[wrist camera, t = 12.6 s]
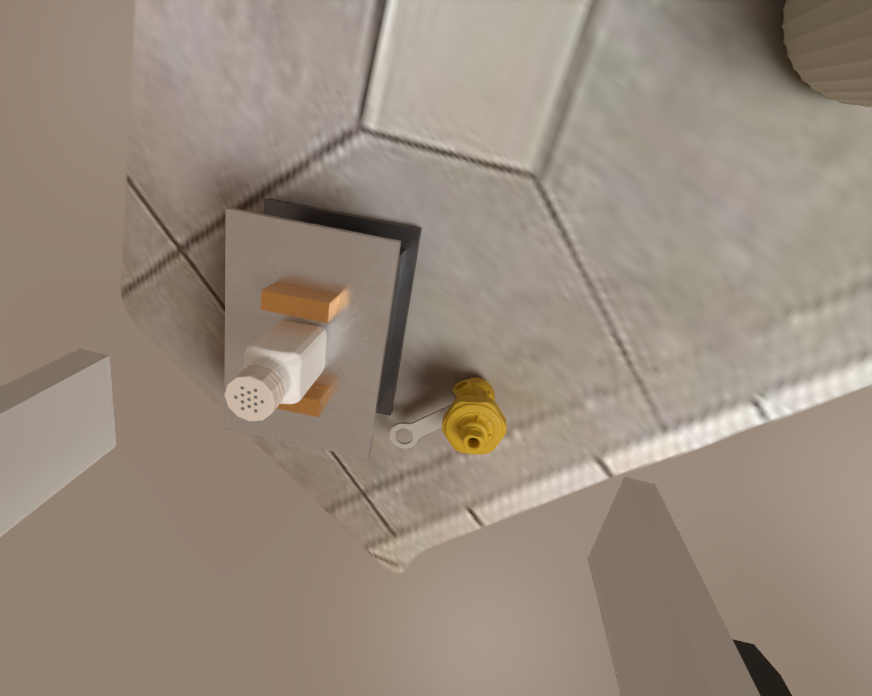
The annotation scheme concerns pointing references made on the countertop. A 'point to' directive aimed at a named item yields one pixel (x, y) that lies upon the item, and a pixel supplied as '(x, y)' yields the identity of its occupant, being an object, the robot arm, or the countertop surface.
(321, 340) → the pepper shaker
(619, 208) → the countertop surface
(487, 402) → the pressure relief valve
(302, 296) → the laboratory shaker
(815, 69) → the canister
